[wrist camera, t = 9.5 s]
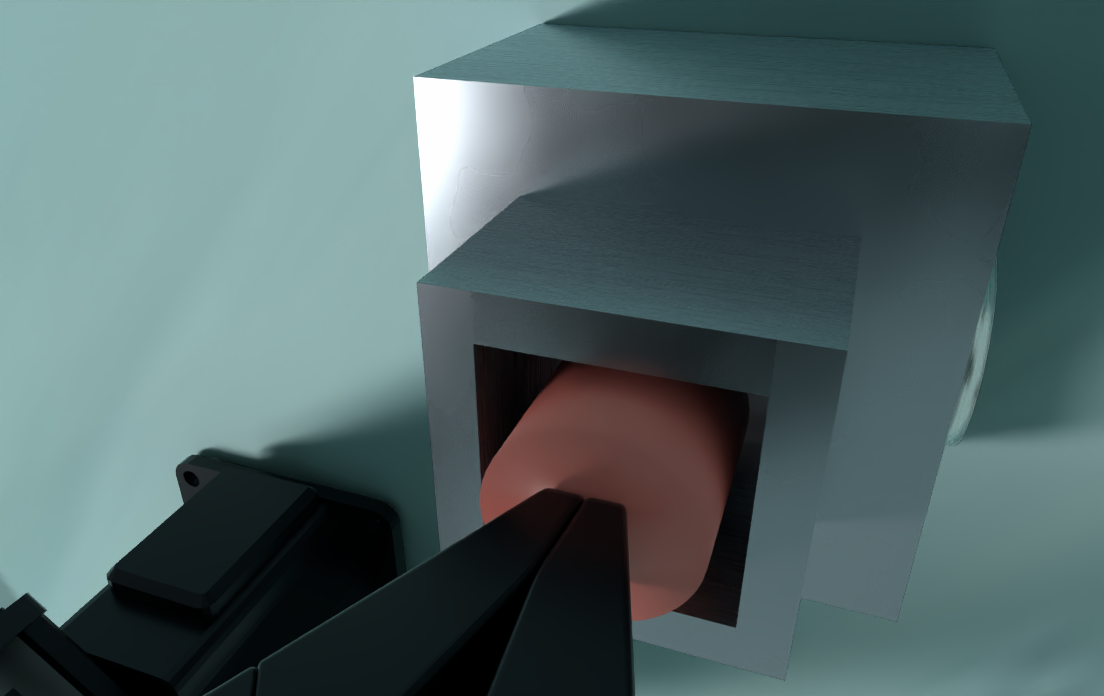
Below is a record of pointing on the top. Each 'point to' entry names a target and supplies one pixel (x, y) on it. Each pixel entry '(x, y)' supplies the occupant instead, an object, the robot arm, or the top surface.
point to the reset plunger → (631, 467)
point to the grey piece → (725, 281)
